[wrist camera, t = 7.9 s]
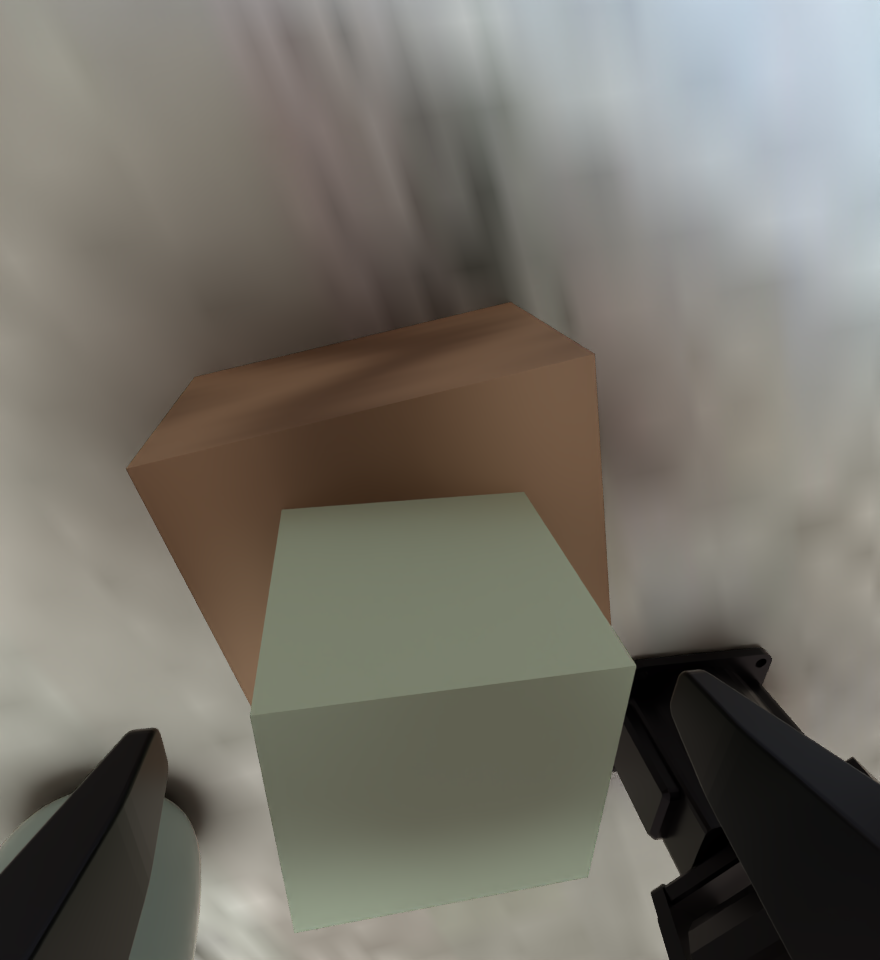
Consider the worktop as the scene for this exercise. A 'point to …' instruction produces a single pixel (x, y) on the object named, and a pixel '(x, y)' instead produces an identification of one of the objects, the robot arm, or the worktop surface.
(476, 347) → the walnut block
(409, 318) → the worktop surface
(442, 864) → the green cube
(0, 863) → the cup
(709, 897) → the robot arm
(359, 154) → the worktop surface
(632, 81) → the worktop surface
